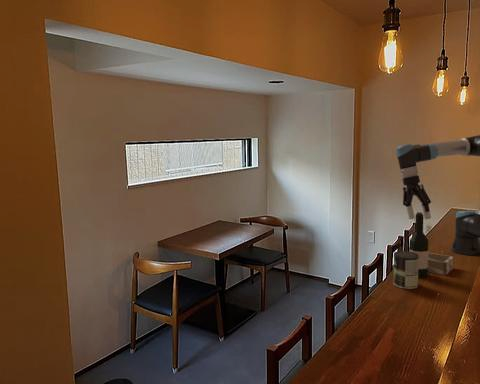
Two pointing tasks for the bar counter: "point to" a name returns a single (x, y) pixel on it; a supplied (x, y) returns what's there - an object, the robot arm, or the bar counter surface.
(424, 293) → the bar counter surface
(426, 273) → the wine bottle
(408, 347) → the bar counter surface
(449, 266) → the u rest
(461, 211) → the robot arm
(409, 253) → the coffee can
